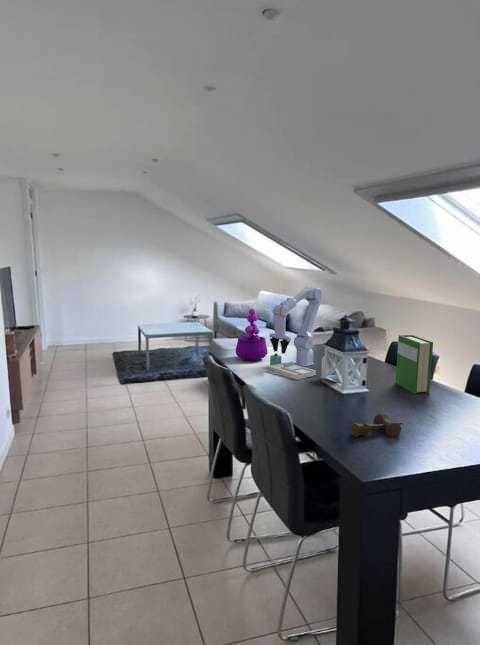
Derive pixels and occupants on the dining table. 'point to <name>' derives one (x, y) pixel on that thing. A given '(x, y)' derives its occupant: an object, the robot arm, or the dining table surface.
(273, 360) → the plug
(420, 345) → the hardback book
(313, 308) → the robot arm
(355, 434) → the kendama
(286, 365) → the shutter
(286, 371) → the socket plate
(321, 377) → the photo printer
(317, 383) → the dining table surface
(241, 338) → the decorative plant
